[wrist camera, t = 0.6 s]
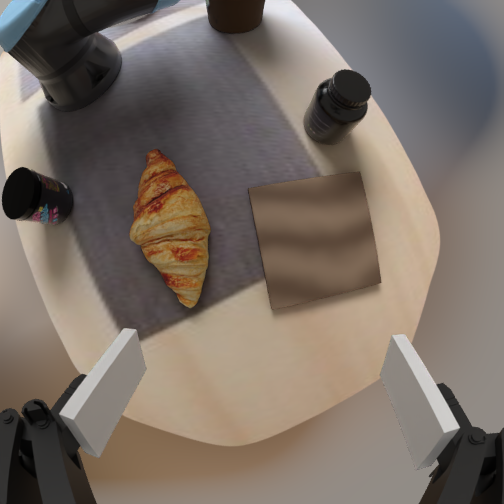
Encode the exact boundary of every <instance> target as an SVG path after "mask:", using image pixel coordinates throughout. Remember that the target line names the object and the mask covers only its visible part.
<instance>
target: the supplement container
mask: <svg viewBox="0 0 504 504" xmlns="http://www.w3.org/2000/svg"><path fill="white" fill-rule="evenodd" d="M72 203H73V197H72V192H71V190H70V188H69V187H68V186H67V185H66V184H65V183H63V182H60V181H58V180H55V179H53V178H50V177H48V176H45V175H42V174H40V173H37V172H35V171H34V170H30V169H28V168H25V167H21V168H18V169H16V170H15V171H13V172H12V173H11V175H10V176H9V177H8V179H7V181H6V183H5V186H4V189H3V194H2V206H3V210H4V212H5V214H6V216H7V217H9V218H10V219H14V220H19V221H30V222H37V223H44V224H52V225H56V224H59V223H61V222H63V221H64V220H65V219H66V218H67V216H68V215H69V213H70V211H71V208H72Z"/></svg>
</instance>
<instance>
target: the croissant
mask: <svg viewBox="0 0 504 504" xmlns="http://www.w3.org/2000/svg"><path fill="white" fill-rule="evenodd" d="M146 163H147V168H146V169H145V170H144V172H143V173H142V177H141V179H140V183H139V187H138V188H139V191H138V199H137V200H136V201H135V205H134V206H133V210H134V222H133V224H132V226H131V230H130V234H129V235H130V238H131V240H132V241H133V242H135V243H136V244H138V245H141V248H142V251H143V253H144V255H145V257H146V259H147V260H148V261H149V262H150V263H152V264H154V266H156V267H157V269H158V270H159V271H160V273H161V275H162V277H163V279H164V281H165V283H166V285H167V286H169V287H170V288H172V290H173V291H174V292H175V293H176V294H177V297H178V299H179V301H180V302H181V303H182V304H184V305H185V306H187V307H189V308H192V307H193V306H195V305H196V303H197V301H198V298H199V297H200V293H201V289H202V285H203V281H204V278H205V273H206V269H207V267H208V259H209V255H208V235H209V234H210V230H211V228H210V225H209V222H208V219H207V217H206V214H205V212H204V209H203V207H202V205H201V202H200V200H199V198H198V197H197V195H196V194H195V192H194V191H193V190H192V189H191V188H190V186H189V185H188V184H187V182H186V181H185V179H184V178H183V177H182V176H181V175H180V174H179V173H178V172H177V171H176V169H175V165H174V163H173V162H172V161H171V160H170V159H168V158H167V157H166V156H165V155H164V154H162V153H161V152H160V150H158V149H154V150H152V151H150V152H149V153H148V154H147V156H146Z"/></svg>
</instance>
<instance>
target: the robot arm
mask: <svg viewBox="0 0 504 504" xmlns="http://www.w3.org/2000/svg"><path fill="white" fill-rule="evenodd" d="M179 1H180V0H12V2H11V3H10V4H9V5H8V6H7V8H6V9H5V11H4V12H3V13H2V15H1V17H0V45H1V47H2V48H3V49H4V51H5V52H8V53H9V54H10V55H11V56H12V57H13V58H14V59H16V60H17V61H18V62H19V63H20V64H21V65H23V66H24V67H25V68H26V69H27V70H28V71H29V72H31V73H32V74H33V75H34V76H35V77H36V78H37V79H38V80H39V82H40V85H41V87H42V90H43V92H44V94H45V97H46V99H47V100H48V102H49V103H50V104H51V105H53V106H54V107H55V108H56V109H58V110H61V111H73V110H77V109H80V108H82V107H84V106H86V105H88V104H90V103H91V102H93V101H94V100H96V99H97V98H98V97H99V96H101V95H102V94H103V93H104V92H105V91H106V90H107V89H108V87H109V86H110V85H111V84H112V82H113V81H114V80H115V78H116V76H117V74H118V72H119V70H120V67H121V61H122V58H121V53H120V51H119V49H118V48H117V46H116V44H115V43H114V42H113V41H111V40H110V39H108V38H107V37H105V36H103V35H102V34H100V33H98V32H99V31H101V30H103V29H106V28H108V27H111V26H113V25H116V24H119V23H121V22H124V21H127V20H129V19H132V18H135V17H139V16H142V15H145V14H148V13H154V12H156V11H157V10H160V9H163V8H166V7H170V6H173V5H175V4H177V3H178V2H179ZM145 371H146V365H145V361H144V358H143V354H142V350H141V346H140V342H139V338H138V334H137V330H135V329H127V328H124V329H123V330H122V331H121V333H120V334H119V335H118V336H117V338H116V339H115V340H114V341H113V343H112V344H111V345H110V346H109V348H108V349H107V350H106V352H105V353H104V354H103V355H102V357H101V358H100V359H99V361H98V362H97V363H96V364H95V366H94V367H93V368H92V370H91V371H90V372H89V374H88V375H85V374H81V375H80V376H78V377H77V378H75V379H74V380H73V381H72V383H71V384H70V385H69V388H67V389H66V390H65V392H64V393H63V394H62V396H61V397H60V398H59V399H58V401H57V402H56V403H55V405H54V406H53V407H52V409H51V410H49V408H48V407H47V405H46V403H45V402H44V401H42V400H39V399H34V400H31V401H28V402H27V403H26V404H25V405H24V406H23V408H22V412H21V413H22V414H23V416H24V417H25V418H23V417H20V415H19V414H18V412H17V411H16V410H15V409H11V408H9V409H5V410H3V411H2V412H1V413H0V504H97V503H96V501H95V498H94V496H93V493H92V490H91V488H90V485H89V482H88V479H87V476H86V473H85V470H84V467H83V464H82V461H81V457H80V454H79V452H78V451H77V450H78V448H79V447H80V446H81V447H82V448H83V450H84V452H85V453H87V454H90V455H92V456H95V457H98V458H99V457H100V456H101V454H102V451H103V450H104V448H105V446H106V444H107V442H108V440H109V438H110V436H111V434H112V432H113V430H114V428H115V427H116V425H117V423H118V421H119V419H120V417H121V415H122V413H123V412H124V410H125V408H126V406H127V404H128V402H129V400H130V399H131V397H132V395H133V393H134V391H135V389H136V388H137V386H138V384H139V382H140V380H141V379H142V377H143V375H144V373H145ZM380 376H381V379H382V381H383V383H384V386H385V389H386V391H387V393H388V396H389V398H390V401H391V403H392V406H393V408H394V411H395V413H396V416H397V419H398V421H399V424H400V427H401V429H402V432H403V435H404V438H405V440H406V443H407V446H408V449H409V452H410V454H411V457H412V460H413V463H414V466H415V469H416V470H419V469H422V468H426V467H429V466H431V465H432V464H433V462H434V461H435V460H436V459H437V460H438V463H439V465H438V466H437V467H436V468H435V470H434V471H433V472H432V473H431V474H430V475H429V477H431V476H432V475H433V476H432V478H431V481H430V483H429V485H428V487H427V489H426V491H425V493H424V495H423V497H422V499H421V501H420V503H419V504H504V428H503V429H502V430H501V432H500V433H492V434H486V433H485V432H484V431H483V430H482V429H480V428H478V427H472V425H471V423H470V422H469V420H468V418H467V416H466V415H465V413H464V411H463V409H462V408H461V406H460V405H459V402H458V401H457V399H455V396H454V394H453V393H452V391H451V389H450V388H448V387H447V386H446V385H445V384H443V383H441V384H435V382H434V380H433V379H432V377H431V375H430V374H429V372H428V370H427V369H426V367H425V366H424V364H423V362H422V361H421V359H420V357H419V356H418V354H417V353H416V351H415V349H414V348H413V346H412V345H411V343H410V342H409V340H408V339H407V337H406V336H405V334H399V335H392V336H391V340H390V343H389V347H388V351H387V354H386V357H385V361H384V364H383V367H382V370H381V373H380Z"/></svg>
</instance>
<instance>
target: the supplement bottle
mask: <svg viewBox="0 0 504 504" xmlns="http://www.w3.org/2000/svg"><path fill="white" fill-rule="evenodd" d="M370 95H371V88H370V84H369V83H368V81H367V80H366V79H365V78H364V77H363V76H361V75H360V74H359V73H357V72H354V71H352V70H346V69H344V70H341V71H338V72H336V73H335V75H333V77H332V78H329V79H327V80H325V81H323V82H322V83H321V84H320V85H319V86H318V88H317V90H316V92H315V94H314V96H313V98H312V100H311V102H310V104H309V106H308V108H307V111H306V113H305V116H304V127H305V129H306V131H307V133H308V134H309V135H310V137H312V138H313V139H314V140H315V141H317V142H319V143H322V144H326V145H333V144H337V143H339V142H341V141H342V140H343V139H344V138H345V137H346V136H347V135H348V134H349V133H350V132H351V131H352V130H353V129H354V128H355V127H356V126H357V125H358V123H359V122H360V121H361V120H362V119H363V118H364V117H365V115H366V113H367V108H368V104H367V101H368V99H369V98H370Z"/></svg>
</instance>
